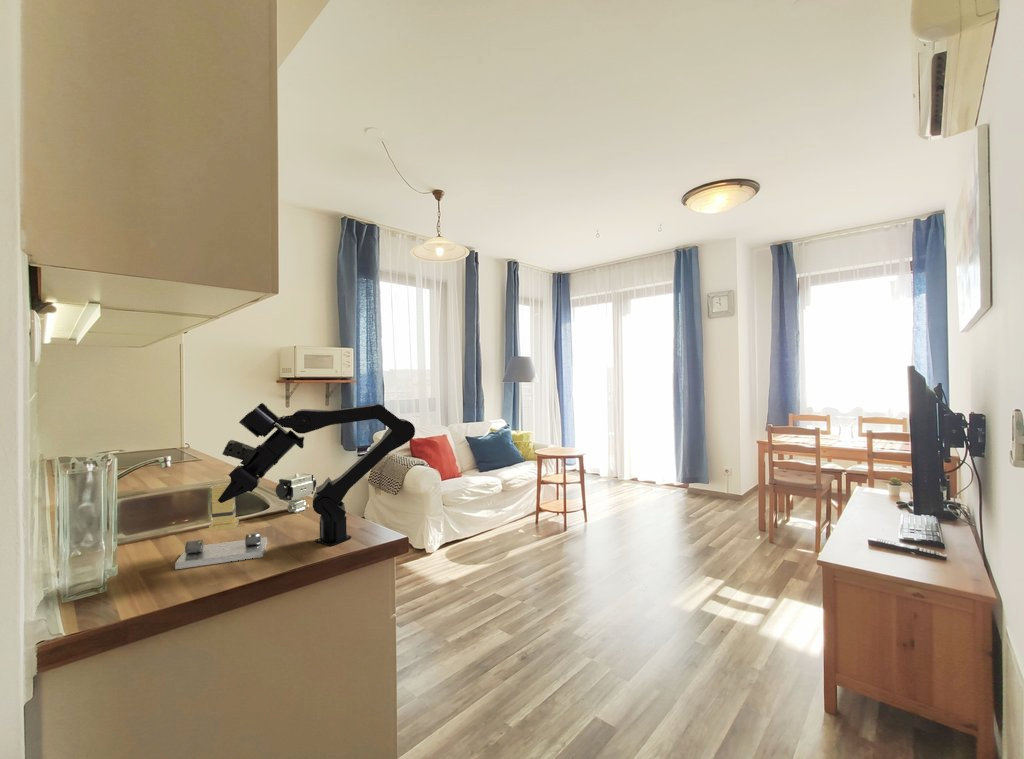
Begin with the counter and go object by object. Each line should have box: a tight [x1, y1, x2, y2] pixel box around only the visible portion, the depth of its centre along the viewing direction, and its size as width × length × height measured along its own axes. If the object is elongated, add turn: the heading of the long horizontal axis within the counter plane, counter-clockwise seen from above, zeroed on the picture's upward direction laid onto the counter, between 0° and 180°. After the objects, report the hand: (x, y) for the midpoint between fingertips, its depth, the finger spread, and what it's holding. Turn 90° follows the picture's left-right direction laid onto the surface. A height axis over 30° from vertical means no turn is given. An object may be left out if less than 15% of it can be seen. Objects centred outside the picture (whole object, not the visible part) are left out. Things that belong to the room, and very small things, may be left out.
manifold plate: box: [174, 532, 268, 570], centre depth 107 cm, size 17×10×4 cm, turn 113°
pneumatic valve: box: [275, 473, 317, 514], centre depth 142 cm, size 6×12×12 cm, turn 156°
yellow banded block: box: [208, 482, 240, 533], centre depth 107 cm, size 5×5×10 cm
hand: (221, 499), depth 107 cm, fingers closed on yellow banded block, 4 cm apart
